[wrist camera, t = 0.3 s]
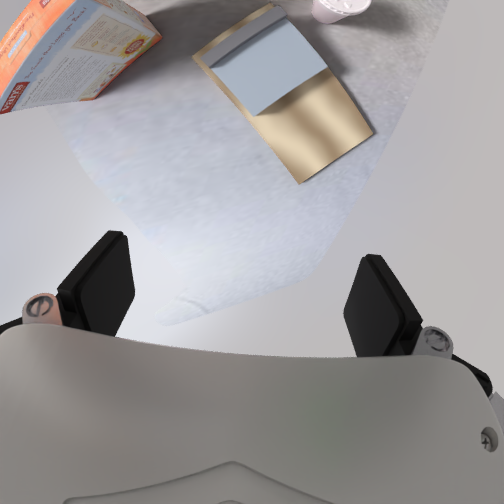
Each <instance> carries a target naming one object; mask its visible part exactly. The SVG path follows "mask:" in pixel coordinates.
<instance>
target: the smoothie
mask: <svg viewBox="0 0 504 504" xmlns="http://www.w3.org/2000/svg"><path fill="white" fill-rule="evenodd" d="M371 1H372V0H314V1H313V6H312V15H313V17H314V18H315V19H316V20H317V21H319V22H321V23H324V24H331V23H334V22H336V21H338V20H340V19H342V18H345V17H347V16H349V15H357V14H361V13H362V12H364V11H365V10H366V9H367V8H368V7H369V6H370V4H371Z"/></svg>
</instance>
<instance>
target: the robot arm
mask: <svg viewBox="0 0 504 504" xmlns="http://www.w3.org/2000/svg"><path fill="white" fill-rule="evenodd" d="M57 290H58V294H57V295H56V296H54V295H53V294H49V293H42V294H37V295H35V296H33V297H31V298H30V299H29V300H28V301H27V302H26V303H25V304H24V306H23V310H22V317H21V318H18V319H16V320H13V321H11V322H8V323H5V324H3V325H1V326H0V504H504V399H503V398H502V397H501V396H500V395H499V394H498V393H497V392H495V393H494V394H492V384H491V381H490V379H489V377H488V375H487V374H486V373H484V372H482V371H481V370H479V369H477V368H476V367H474V366H472V365H471V364H469V363H467V362H466V361H464V360H462V359H460V358H459V357H457V356H456V355H454V354H452V353H453V342H452V340H451V339H450V337H449V336H448V335H447V334H446V333H445V332H444V331H443V330H441V329H439V328H436V327H432V326H429V327H425V328H424V329H423V328H422V326H421V323H422V321H423V319H422V318H421V316H420V314H419V313H418V311H417V309H416V308H415V306H414V304H413V303H412V301H411V300H410V298H409V296H408V295H407V293H406V292H405V290H404V289H403V287H402V286H401V284H400V283H399V281H398V279H397V278H396V276H395V275H394V274H393V272H392V271H391V269H390V268H389V266H388V265H387V263H386V262H385V260H384V259H383V257H382V256H381V255H374V254H367V255H366V256H365V257H362V259H361V261H360V264H359V267H358V270H357V273H356V276H355V280H354V282H353V285H352V288H351V291H350V294H349V297H348V299H347V302H346V305H345V308H344V313H343V314H344V319H345V322H346V325H347V328H348V331H349V334H350V337H351V340H352V343H353V346H354V349H355V352H356V355H357V357H344V358H317V357H315V358H314V357H280V356H262V355H246V354H234V353H223V352H213V351H204V350H195V349H187V348H180V347H172V346H166V345H159V344H152V343H145V342H140V341H134V340H129V339H124V338H119V337H115V335H116V333H117V331H118V329H119V327H120V325H121V323H122V321H123V319H124V317H125V315H126V313H127V311H128V309H129V307H130V305H131V303H132V301H133V299H134V296H135V287H134V281H133V276H132V268H131V261H130V254H129V246H128V238H127V236H126V235H124V234H123V232H121V231H108V232H107V233H106V234H105V235H104V236H103V237H102V238H101V239H100V240H99V241H98V242H97V243H96V244H95V245H94V246H93V248H92V249H91V250H90V251H89V252H88V253H87V254H86V255H85V256H84V257H83V258H82V260H81V261H80V262H79V263H78V264H77V265H76V266H75V268H74V269H73V270H72V271H71V272H70V274H69V275H68V276H67V277H66V278H65V279H64V280H63V282H62V283H61V284H60V285H59V287H58V288H57Z"/></svg>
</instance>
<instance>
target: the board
mask: <svg viewBox="0 0 504 504" xmlns="http://www.w3.org/2000/svg"><path fill="white" fill-rule="evenodd" d="M272 8H274V6H273V5H272V4H271V3H269V4H267V5H265V6H263V7H262V8H260V9H258V10H257V11H255V12H253V13H252V14H250V15H249V16H247V17H245V18H244V19H242V20H241V21H239V22H238V23H236V24H235V25H233V26H232V27H230V28H229V29H227V30H226V31H225V32H223V33H222V34H220V35H219V36H218V37H216V38H215V39H213V40H212V41H211V42H209V43H208V44H207V45H205V46H204V47H203V48H202V49H200V50H199V51H198V52H197V53H195V54H194V55H193V56H192V57H191V58H192V59H193V60H194V61H195V62H196V63H197V64H198V65H199V66H200V67H201V68H202V69H203V70H204V71H205V72H206V73H207V75H208V76H209V77H210V78H211V79H212V80H213V81H214V82H215V83H216V84H217V85H218V87H219V88H220V89H221V90H222V91H223V92H224V93H225V94H226V95H227V97H228V98H229V99H230V100H231V101H232V102H233V103H234V105H235V106H236V107H237V108H238V109H239V110H240V111H241V113H242V114H243V115H244V116H245V117H246V118H247V120H248V121H249V122H250V123H251V124H252V126H253V127H254V128H255V129H256V130H257V132H258V133H259V134H260V135H261V137H262V138H263V139H264V140H265V141H266V143H267V144H268V145H269V146H270V148H271V149H272V150H273V151H274V153H275V154H276V155H277V157H278V158H279V159H280V160H281V162H282V163H283V164H284V166H285V167H286V168H287V169H288V171H289V172H290V173H291V175H292V176H293V177H294V179H295V180H296V181H297V183H298V184H301V183H302V182H304V181H305V180H307V179H308V178H309V177H311V176H312V175H314V174H315V173H317V172H318V171H319V170H321V169H322V168H324V167H325V166H327V165H328V164H330V163H331V162H333V161H334V160H335V159H337V158H338V157H340V156H341V155H343V154H344V153H346V152H347V151H349V150H350V149H352V148H353V147H355V146H356V145H358V144H359V143H361V142H362V141H364V140H365V139H367V138H368V137H370V136H371V135H373V133H372V131H371V129H370V128H369V126H368V125H367V123H366V121H365V120H364V118H363V117H362V115H361V113H360V112H359V110H358V109H357V107H356V106H355V104H354V103H353V101H352V100H351V98H350V97H349V95H348V94H347V93H346V91H345V90H344V88H343V87H342V85H341V84H340V83H339V81H338V80H337V79H336V77H335V76H334V75H333V73H332V72H331V71H330V69H329V68H328V67H327V68H325V69H323V70H322V71H320V72H319V73H317V74H315V75H314V76H312V77H311V78H309V79H308V80H306V81H304V82H303V83H301V84H300V85H298V86H297V87H295V88H294V89H292V90H291V91H289V92H288V93H286V94H285V95H284V96H282V97H281V98H279V99H278V100H276V101H275V102H274V103H272V104H271V105H269V106H268V107H267V108H265V109H264V110H262V111H261V112H260V113H258V114H257V115H256V116H254V117H253V116H252V115H251V114H250V113H249V111H248V110H247V109H246V108H245V107H244V106H243V104H242V103H241V102H240V101H239V100H238V99H237V97H236V96H235V95H234V94H233V93H232V92H231V91H230V90H229V88H228V87H227V86H226V85H225V84H224V83H223V82H222V81H221V80H220V78H219V77H218V76H217V75H216V74H215V73H214V72H213V71H212V70H211V69H210V68H209V67H208V66H207V65H206V64H205V63H204V62H203V61H202V60H201V59H200V57H202V56H203V55H204V54H205V53H207V52H208V51H209V50H211V49H212V48H213V47H215V46H216V45H217V44H219V43H220V42H221V41H223V40H224V39H226V38H227V37H228V36H230V35H231V34H233V33H234V32H236V31H237V30H239V29H240V28H242V27H243V26H245V25H246V24H248V23H249V22H251V21H252V20H254V19H256V18H257V17H259V16H260V15H262V14H264V13H265V12H267V11H269V10H271V9H272Z"/></svg>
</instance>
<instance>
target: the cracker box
mask: <svg viewBox="0 0 504 504" xmlns="http://www.w3.org/2000/svg"><path fill="white" fill-rule="evenodd" d="M162 38H163V37H162V36H161V35H160V33H159V32H158V31H157V30H156V28H155V27H154V26H153V25H152V24H151V22H150V21H149V20H148V19H147V18H146V16H145V15H143V14H142V13H140V12H139V11H137V10H136V9H134V8H133V7H131V6H130V5H128V4H126V3H125V2H123V1H121V0H31V2H30V3H29V4H28V5H27V6H26V8H25V9H24V10H23V11H22V13H21V14H20V15H19V17H18V18H17V19H16V21H15V22H14V23H13V25H12V26H11V27H10V29H9V30H8V32H7V33H6V35H5V36H4V38H3V39H2V41H1V42H0V114H4V113H8V112H12V111H17V110H22V109H27V108H33V107H38V106H45V105H52V104H59V103H68V102H77V101H89V100H94V99H95V98H96V97H97V96H98V95H99V94H100V93H101V92H102V90H104V89H105V88H106V87H107V86H108V85H109V84H110V83H111V82H112V81H113V80H114V79H115V78H116V77H117V76H118V75H119V74H120V73H121V72H122V71H123V70H124V69H126V68H127V67H128V66H129V65H130V64H131V63H133V62H134V61H135V60H136V59H137V58H138V57H140V56H141V55H142V54H143V53H144V52H146V51H147V50H148V49H149V48H151V47H152V46H153V45H154V44H156V43H157V42H158V41H160V40H161V39H162Z"/></svg>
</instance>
